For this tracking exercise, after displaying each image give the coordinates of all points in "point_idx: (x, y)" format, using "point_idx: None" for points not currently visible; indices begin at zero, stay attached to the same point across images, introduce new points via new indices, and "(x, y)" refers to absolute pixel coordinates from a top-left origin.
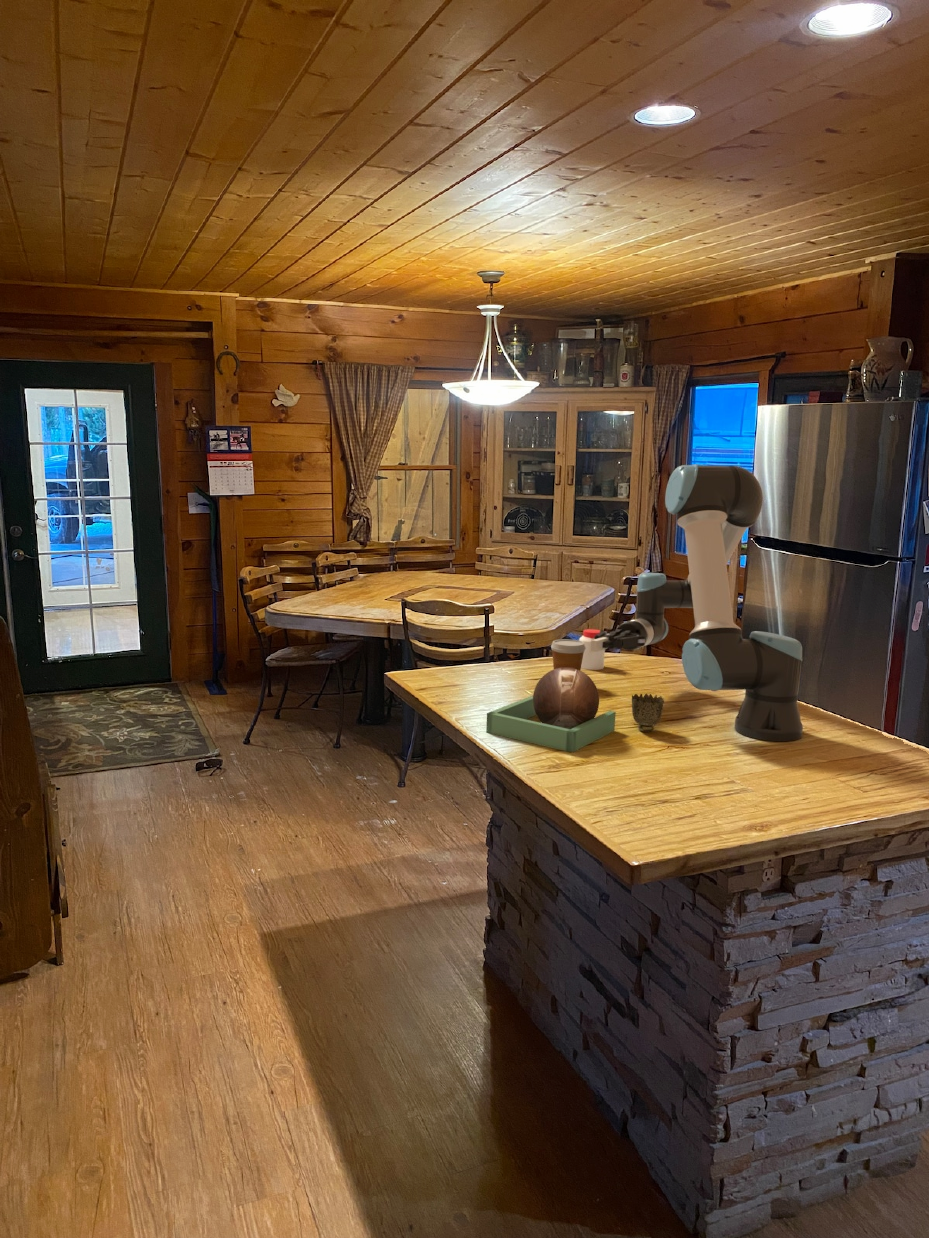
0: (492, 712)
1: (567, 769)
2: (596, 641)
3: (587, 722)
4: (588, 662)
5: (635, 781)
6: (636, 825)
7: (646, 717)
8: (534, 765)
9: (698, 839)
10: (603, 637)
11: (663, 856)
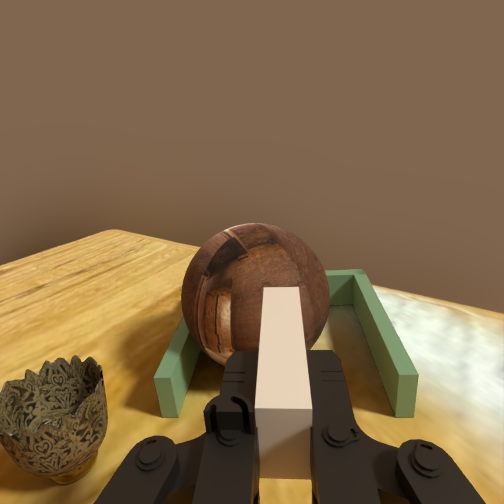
0: (360, 273)
1: None
2: (264, 289)
3: None
4: None
5: (109, 285)
6: (109, 246)
7: (67, 398)
8: None
9: (61, 250)
10: (297, 394)
11: (92, 235)
